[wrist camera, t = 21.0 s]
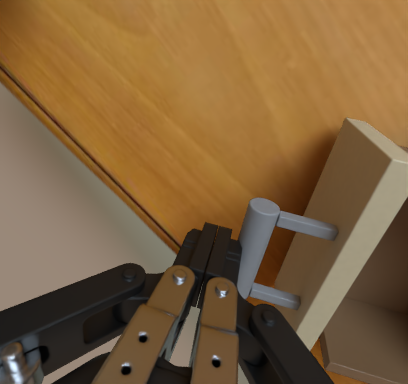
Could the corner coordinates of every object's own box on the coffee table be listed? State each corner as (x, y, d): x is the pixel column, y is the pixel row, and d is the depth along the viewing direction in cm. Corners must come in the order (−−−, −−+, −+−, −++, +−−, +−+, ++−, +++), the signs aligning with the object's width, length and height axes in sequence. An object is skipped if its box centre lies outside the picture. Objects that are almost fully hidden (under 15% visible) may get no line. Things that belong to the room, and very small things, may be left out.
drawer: (223, 267, 23) (207, 345, 17) (272, 100, 16) (273, 131, 10) (449, 332, 21) (522, 446, 15) (609, 175, 14) (854, 266, 8)
